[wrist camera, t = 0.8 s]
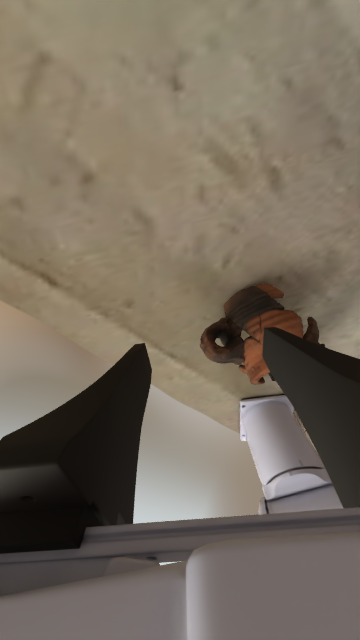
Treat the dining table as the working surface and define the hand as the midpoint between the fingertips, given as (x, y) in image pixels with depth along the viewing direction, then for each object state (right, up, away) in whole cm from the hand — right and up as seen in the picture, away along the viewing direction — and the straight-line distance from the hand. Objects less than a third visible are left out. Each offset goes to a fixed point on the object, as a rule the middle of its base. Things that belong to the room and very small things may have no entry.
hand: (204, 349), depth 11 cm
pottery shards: (+6, +1, +11) cm, 13 cm away
